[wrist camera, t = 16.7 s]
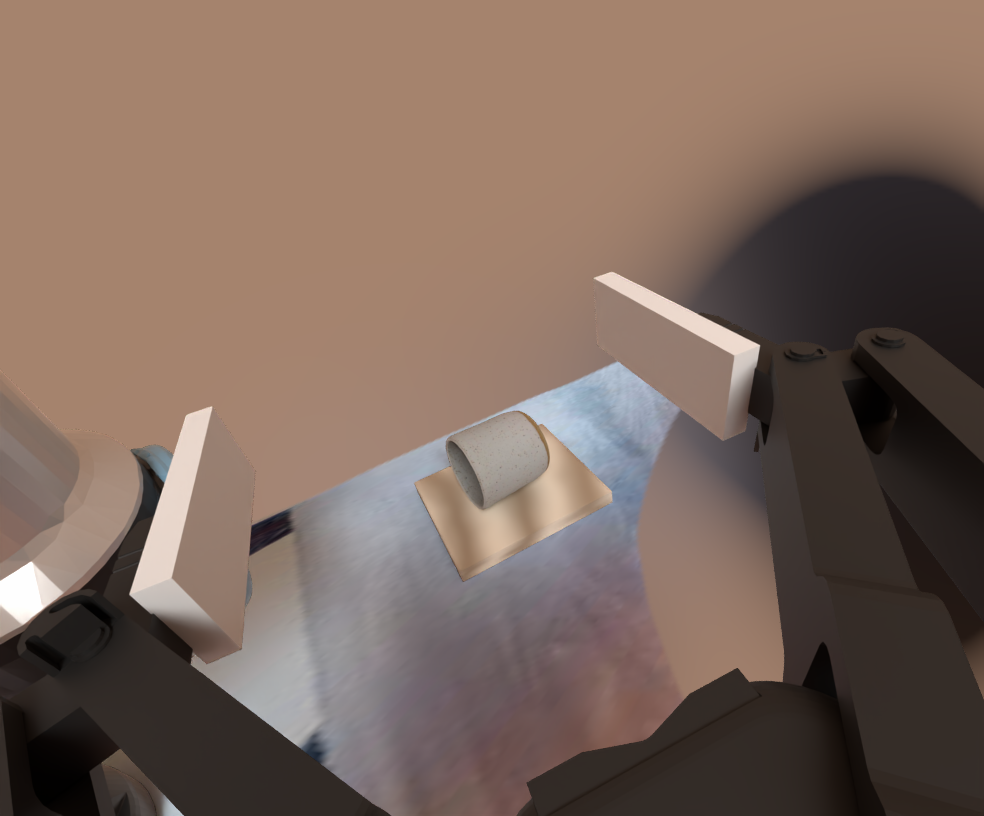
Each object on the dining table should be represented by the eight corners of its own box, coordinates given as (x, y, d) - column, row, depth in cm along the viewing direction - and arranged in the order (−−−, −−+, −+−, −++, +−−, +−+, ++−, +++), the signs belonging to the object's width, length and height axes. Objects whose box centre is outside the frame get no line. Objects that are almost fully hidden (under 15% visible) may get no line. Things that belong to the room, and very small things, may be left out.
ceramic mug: (559, 482, 47) (550, 421, 43) (491, 525, 44) (473, 465, 40) (501, 434, 55) (489, 379, 51) (440, 468, 52) (421, 413, 48)
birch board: (463, 581, 42) (459, 571, 41) (418, 492, 52) (414, 482, 51) (612, 502, 46) (611, 491, 45) (543, 433, 56) (542, 423, 55)
